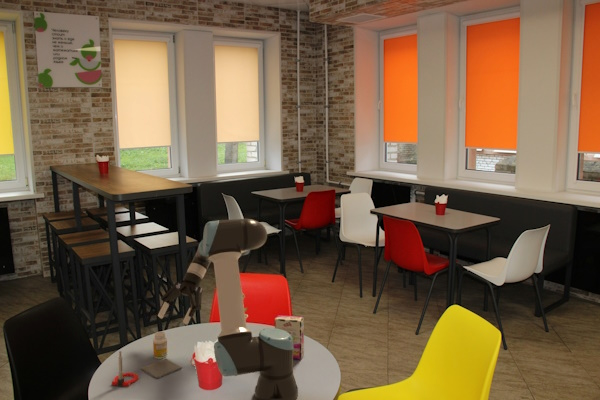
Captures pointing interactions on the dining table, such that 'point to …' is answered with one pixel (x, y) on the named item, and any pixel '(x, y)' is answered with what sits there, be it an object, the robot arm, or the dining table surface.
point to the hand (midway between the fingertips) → (172, 320)
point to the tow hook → (119, 379)
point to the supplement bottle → (160, 345)
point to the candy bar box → (293, 332)
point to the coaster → (161, 368)
